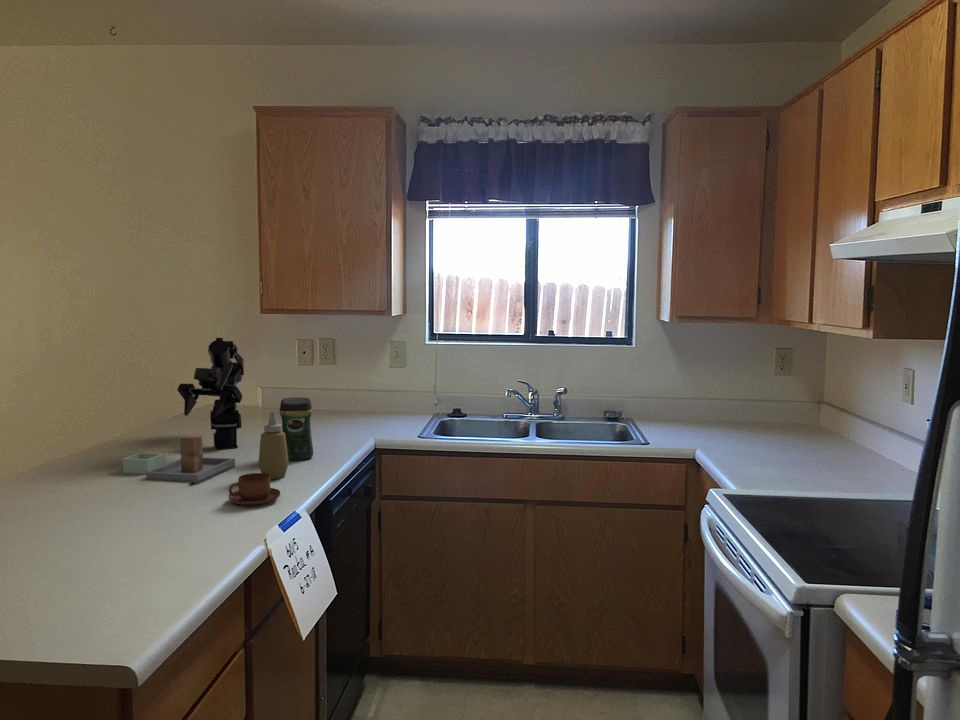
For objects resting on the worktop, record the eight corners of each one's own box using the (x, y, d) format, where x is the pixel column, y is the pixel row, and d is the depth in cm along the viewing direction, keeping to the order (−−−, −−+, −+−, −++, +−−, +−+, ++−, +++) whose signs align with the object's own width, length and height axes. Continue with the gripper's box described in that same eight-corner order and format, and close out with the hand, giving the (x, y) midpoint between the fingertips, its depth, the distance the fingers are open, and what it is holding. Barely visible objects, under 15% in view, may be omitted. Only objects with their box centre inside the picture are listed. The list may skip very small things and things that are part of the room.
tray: (187, 464, 210) (187, 456, 210) (235, 466, 207) (234, 458, 207) (146, 481, 191) (146, 472, 191) (198, 484, 189) (197, 475, 188)
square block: (189, 468, 202) (188, 435, 201) (202, 469, 201) (201, 435, 200) (181, 472, 198) (180, 438, 197) (194, 473, 197) (193, 438, 196)
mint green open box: (140, 468, 205) (140, 452, 205) (165, 469, 204) (164, 453, 203) (123, 474, 198) (122, 458, 197) (148, 476, 196) (147, 459, 196)
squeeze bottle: (295, 474, 199) (294, 410, 198) (277, 481, 192) (276, 415, 190) (270, 472, 202) (269, 408, 200) (252, 479, 194) (250, 413, 193)
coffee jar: (313, 454, 224) (313, 395, 222) (312, 460, 216) (311, 399, 214) (281, 455, 222) (280, 395, 220) (279, 461, 214) (278, 399, 213)
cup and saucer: (252, 512, 166) (251, 486, 166) (217, 503, 172) (217, 478, 172) (291, 499, 176) (290, 475, 176) (257, 492, 183) (256, 468, 182)
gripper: (179, 356, 218) (158, 398, 208) (236, 358, 215) (218, 400, 205) (195, 379, 226) (175, 420, 217) (250, 381, 223) (232, 423, 213)
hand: (199, 415), depth 213 cm, fingers open, 9 cm apart
